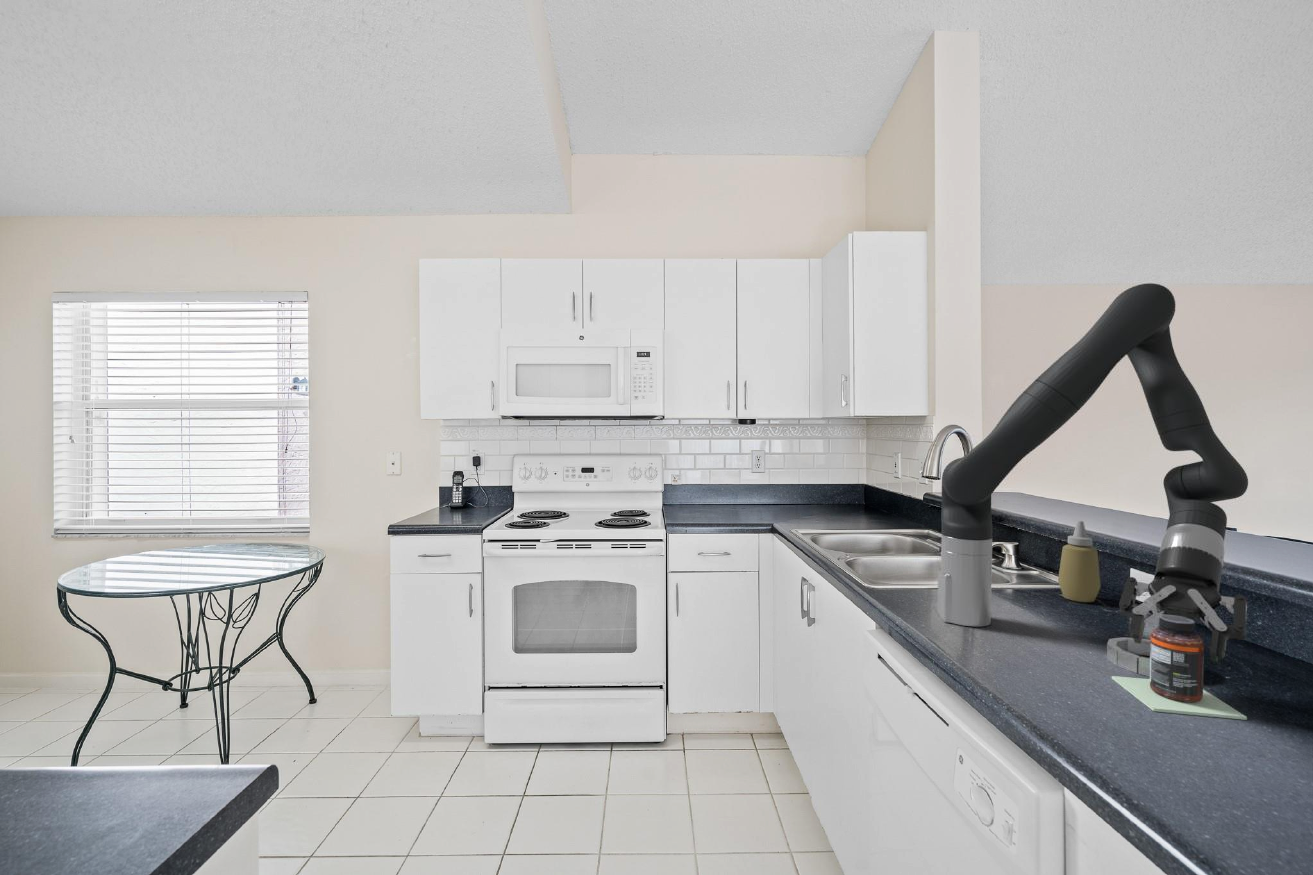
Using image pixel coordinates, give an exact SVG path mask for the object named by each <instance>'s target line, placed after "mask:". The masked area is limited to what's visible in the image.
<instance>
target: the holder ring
mask: <svg viewBox="0 0 1313 875" xmlns="http://www.w3.org/2000/svg"><path fill="white" fill-rule="evenodd" d="M1150 642H1151V639H1146V638H1142V641H1141V644H1139V643H1135V642H1134V639H1133V638H1131V637H1125V636H1124V637H1115V638H1109V639H1108V641H1107V644H1106V659H1107V660H1108V661H1109V662H1111V663H1112V664H1114V665H1115V666H1117V667H1119V668H1122V669H1125V670H1127V671H1130V672H1133V673H1135V674H1138V675H1141V676H1142V675H1143V676H1147V677H1150ZM1145 656H1147V657H1145Z"/></svg>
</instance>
